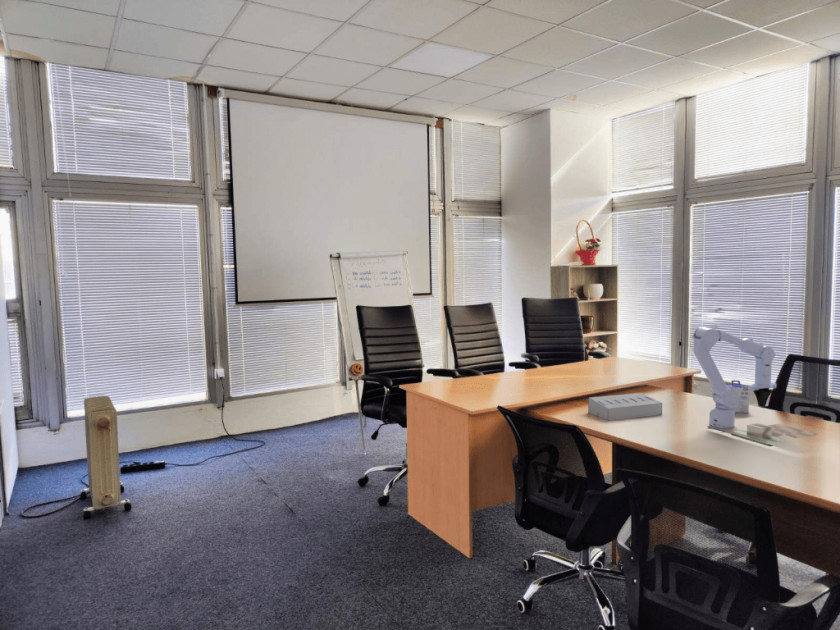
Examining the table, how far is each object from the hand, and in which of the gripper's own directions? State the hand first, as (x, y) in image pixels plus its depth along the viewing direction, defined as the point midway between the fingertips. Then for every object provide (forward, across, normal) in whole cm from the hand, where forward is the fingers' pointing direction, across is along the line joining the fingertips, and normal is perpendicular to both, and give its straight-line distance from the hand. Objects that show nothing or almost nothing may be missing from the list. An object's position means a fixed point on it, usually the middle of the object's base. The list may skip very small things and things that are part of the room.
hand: (761, 406), depth 234 cm
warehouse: (+10, -34, +42) cm, 55 cm away
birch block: (+8, -15, -10) cm, 20 cm away
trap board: (+9, -6, -10) cm, 15 cm away
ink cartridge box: (+10, +16, +24) cm, 30 cm away
